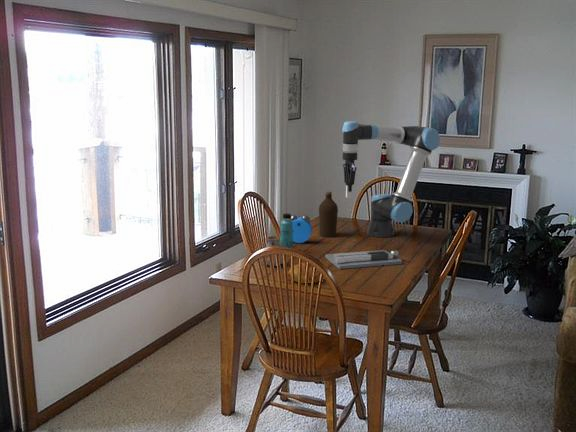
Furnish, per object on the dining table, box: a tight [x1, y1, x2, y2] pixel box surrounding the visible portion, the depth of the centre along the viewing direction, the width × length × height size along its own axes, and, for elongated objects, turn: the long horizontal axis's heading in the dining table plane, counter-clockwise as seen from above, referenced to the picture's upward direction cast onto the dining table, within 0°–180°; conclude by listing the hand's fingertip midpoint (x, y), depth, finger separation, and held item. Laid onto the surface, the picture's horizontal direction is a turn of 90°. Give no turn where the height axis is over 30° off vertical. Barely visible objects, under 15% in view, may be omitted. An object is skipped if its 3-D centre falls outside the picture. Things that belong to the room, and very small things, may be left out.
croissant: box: [287, 262, 320, 285], centre depth 269 cm, size 14×16×8 cm
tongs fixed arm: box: [335, 249, 399, 263], centre depth 293 cm, size 33×5×3 cm, turn 106°
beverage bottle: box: [279, 212, 294, 249], centre depth 310 cm, size 6×7×20 cm
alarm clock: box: [288, 214, 313, 244], centre depth 330 cm, size 13×6×15 cm, turn 82°
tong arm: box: [333, 250, 389, 260], centre depth 296 cm, size 26×3×2 cm, turn 105°
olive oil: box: [318, 190, 339, 238], centre depth 343 cm, size 11×11×25 cm
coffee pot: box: [261, 235, 283, 267], centre depth 285 cm, size 21×12×15 cm, turn 0°
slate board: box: [324, 249, 403, 270], centre depth 298 cm, size 32×20×2 cm, turn 106°
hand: (348, 197), depth 317 cm, fingers closed
